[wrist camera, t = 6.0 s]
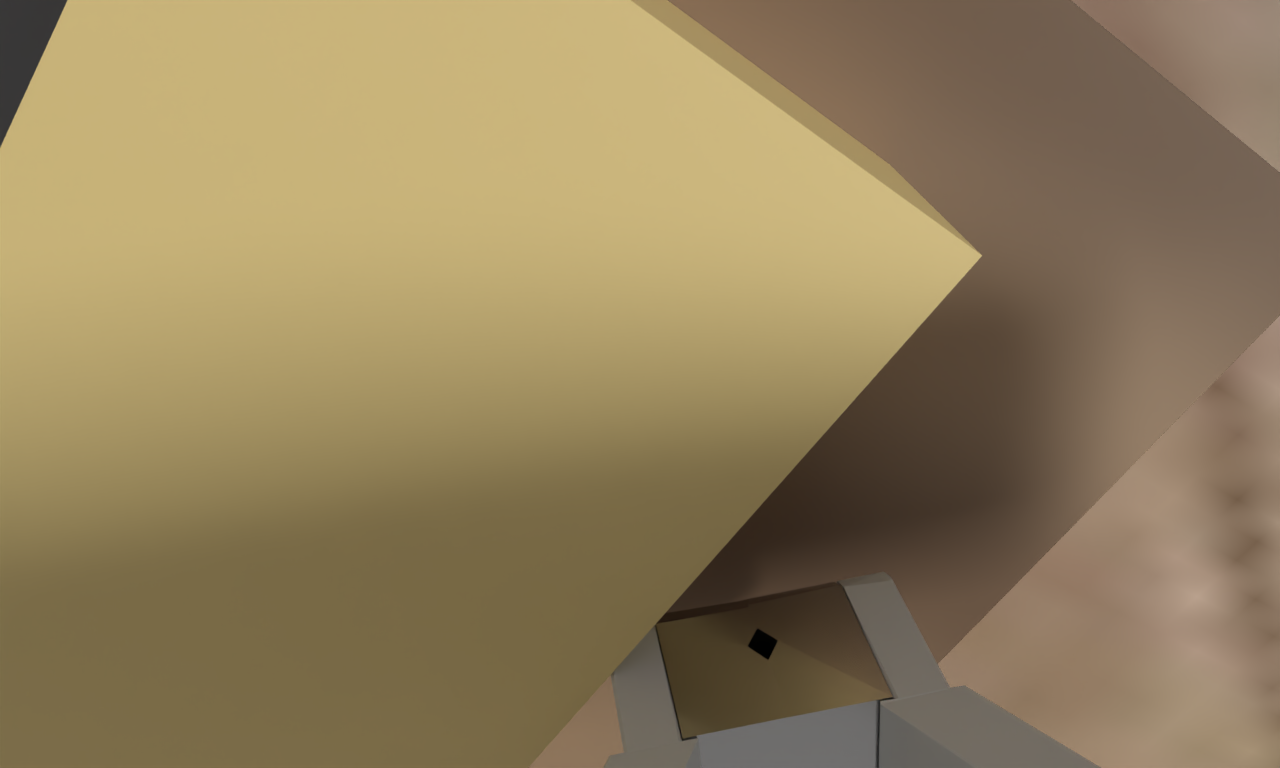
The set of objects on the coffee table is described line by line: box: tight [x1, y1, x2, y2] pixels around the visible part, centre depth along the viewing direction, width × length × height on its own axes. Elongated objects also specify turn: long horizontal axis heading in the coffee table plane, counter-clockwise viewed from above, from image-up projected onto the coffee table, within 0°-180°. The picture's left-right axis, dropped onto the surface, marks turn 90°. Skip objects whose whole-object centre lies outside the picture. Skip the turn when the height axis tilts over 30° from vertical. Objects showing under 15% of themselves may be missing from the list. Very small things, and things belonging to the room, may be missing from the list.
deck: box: [528, 0, 1280, 768], centre depth 13 cm, size 13×11×4 cm
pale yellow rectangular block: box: [0, 0, 982, 768], centre depth 9 cm, size 9×6×2 cm, turn 144°
